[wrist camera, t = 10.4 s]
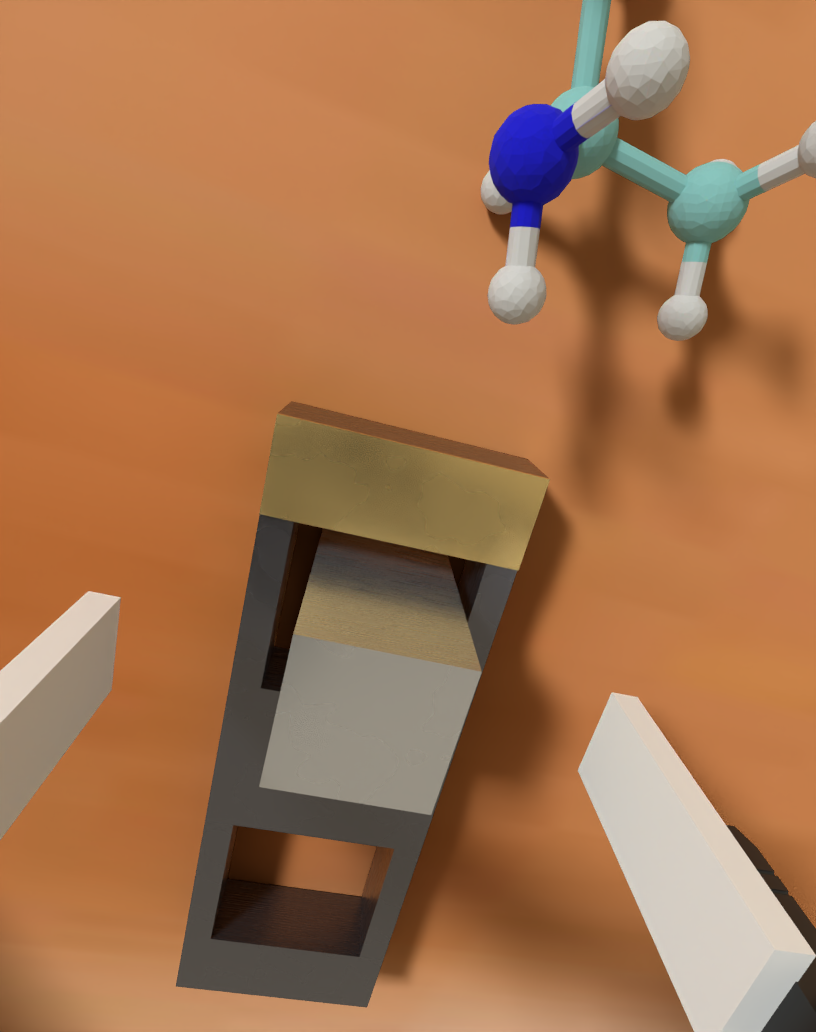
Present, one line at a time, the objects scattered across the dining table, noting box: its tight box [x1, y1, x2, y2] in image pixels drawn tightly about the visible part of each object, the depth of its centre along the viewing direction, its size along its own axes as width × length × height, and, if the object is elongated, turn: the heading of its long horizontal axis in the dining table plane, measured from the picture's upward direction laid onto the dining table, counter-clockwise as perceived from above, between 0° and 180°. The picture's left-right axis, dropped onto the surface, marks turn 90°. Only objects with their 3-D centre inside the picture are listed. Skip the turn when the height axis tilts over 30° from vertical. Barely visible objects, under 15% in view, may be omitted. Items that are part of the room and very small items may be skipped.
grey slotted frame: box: [176, 401, 550, 1007], centre depth 21 cm, size 8×24×3 cm, turn 166°
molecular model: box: [481, 0, 816, 341], centre depth 12 cm, size 12×10×10 cm
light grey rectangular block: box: [259, 528, 482, 815], centre depth 17 cm, size 4×4×7 cm
